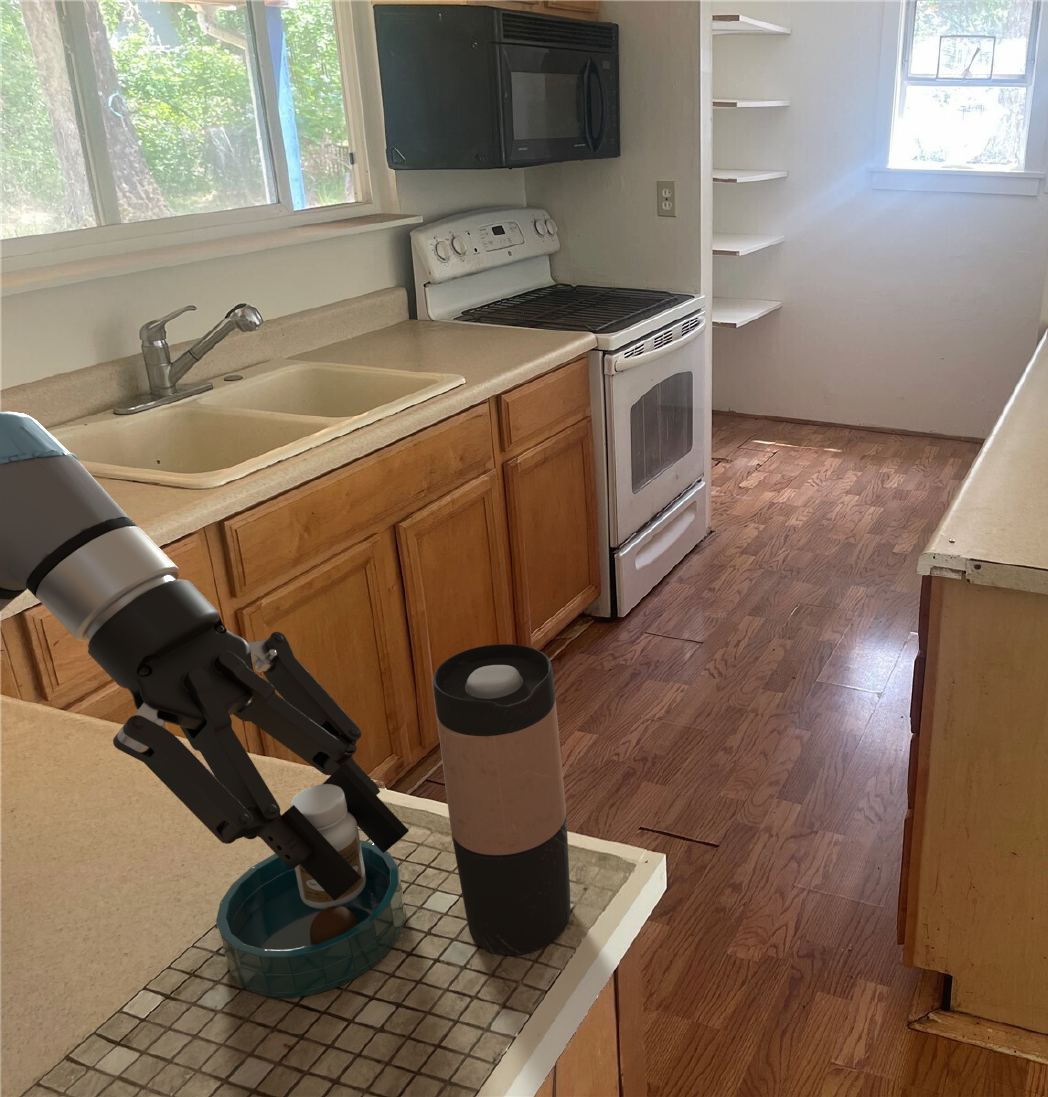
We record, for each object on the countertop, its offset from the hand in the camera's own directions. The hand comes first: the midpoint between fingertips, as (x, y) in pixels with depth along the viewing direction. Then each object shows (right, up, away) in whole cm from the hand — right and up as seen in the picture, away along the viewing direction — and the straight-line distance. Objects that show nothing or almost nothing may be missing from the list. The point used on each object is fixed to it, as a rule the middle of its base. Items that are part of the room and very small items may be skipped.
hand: (372, 864), depth 70 cm
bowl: (-4, -5, +2) cm, 7 cm away
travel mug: (+10, -5, +3) cm, 11 cm away
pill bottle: (-4, -3, +3) cm, 5 cm away
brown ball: (-2, -4, -1) cm, 5 cm away
